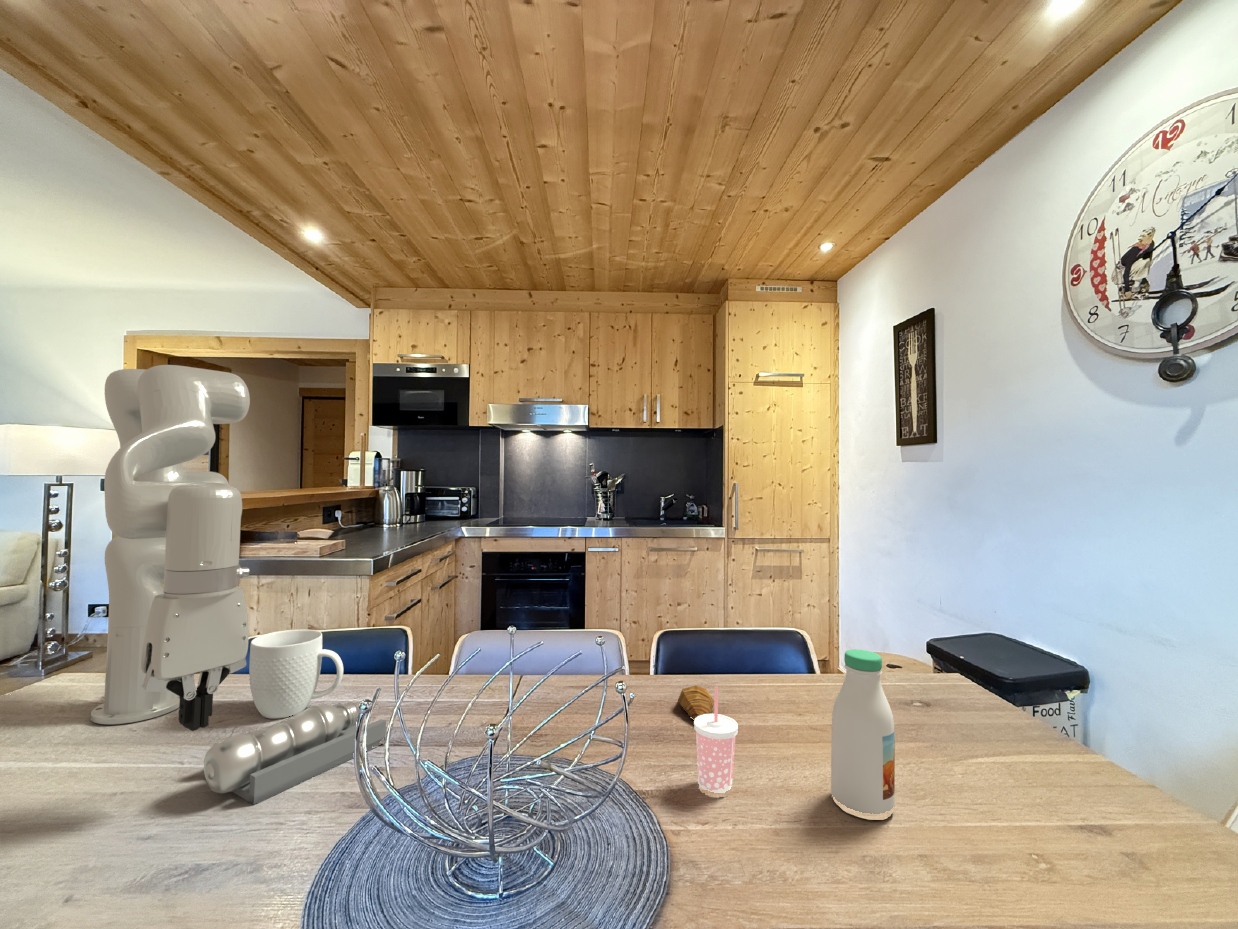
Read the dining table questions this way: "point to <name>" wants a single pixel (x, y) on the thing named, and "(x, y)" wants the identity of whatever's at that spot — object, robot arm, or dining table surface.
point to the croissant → (696, 701)
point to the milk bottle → (863, 738)
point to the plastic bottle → (274, 744)
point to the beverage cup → (715, 749)
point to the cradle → (307, 764)
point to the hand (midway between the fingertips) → (195, 726)
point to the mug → (288, 671)
